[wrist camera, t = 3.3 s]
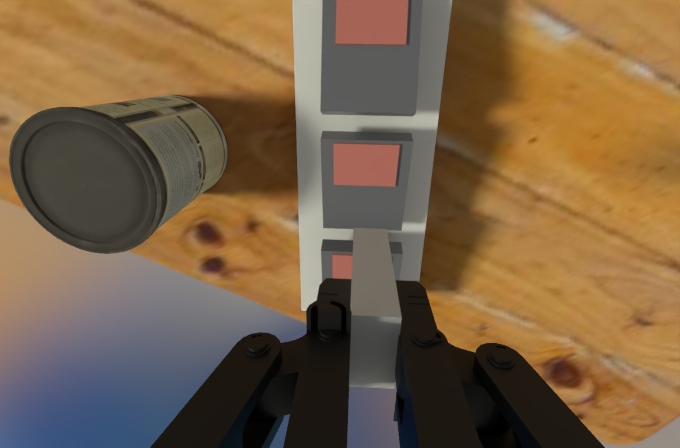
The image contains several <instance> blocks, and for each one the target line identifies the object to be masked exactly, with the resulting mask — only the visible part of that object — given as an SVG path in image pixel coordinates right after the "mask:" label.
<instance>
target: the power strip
mask: <svg viewBox="0 0 680 448" xmlns="http://www.w3.org/2000/svg"><path fill="white" fill-rule="evenodd" d="M292 2H293V36H294V70H295V104H296V138H297V172H298V206H299V240H300V274H301V308H302V311H306V310H307V308H308V306H309V305H310V304H312V303H313V302H314V301H317V295H318V290H319V285H320V284H321V283H322V266H321V247H322V240H323V239H332V240H353V236H354V229H335V228H323V206H322V173H321V140H320V139H321V135H322V131H349V132H390V133H411V134H412V138H413V148H412V155H411V163H410V170H409V178H408V185H407V193H406V200H405V208H404V215H403V223H402V231H391V230H387V234H388V240H389V242H401V244H402V252H403V256H402V263H401V270H400V277H399V280H405V281H418V282H419V280H420V271H421V263H422V254H423V246H424V237H425V229H426V220H427V212H428V203H429V195H430V186H431V178H432V169H433V161H434V152H435V144H436V135H437V127H438V118H439V110H440V101H441V93H442V84H443V76H444V67H445V59H446V50H447V42H448V33H449V25H450V16H451V8H452V0H423V2H422V19H421V36H420V53H419V70H418V87H417V104H416V114H415V115H414V116H413V117H412V116H368V115H324V114H322V113H321V111H320V105H321V54H322V3H323V0H292Z"/></svg>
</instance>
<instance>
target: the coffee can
mask: <svg viewBox="0 0 680 448" xmlns="http://www.w3.org/2000/svg"><path fill="white" fill-rule="evenodd" d="M227 154H228V149H227V143H226V139H225V136H224V133H223V131H222V129H221V127H220V125H219V123H218V122H217V120H216V119H215V118H214V117H213V116H212V115H211V113H210V112H209V111H207V110H206V109H205V108H204V107H203V106H201V105H200V104H198V103H197V102H195V101H193V100H191V99H188V98H186V97H182V96H176V95H163V96H158V97H155V98H147V99H139V100H132V101H125V102H117V103H109V104H100V105H94V106H87V107H57V108H51V109H47V110H43V111H40V112H38V113H36V114H34V115H33V116H31V117H30V118H29V119H27V120H26V121H25V122H24V123H23V124H22V125H21V126H20V128H19V129H18V130H17V132H16V134H15V135H14V137H13V140H12V143H11V146H10V156H9V164H10V172H11V177H12V181H13V184H14V187H15V190H16V192H17V194H18V196H19V198H20V200H21V201H22V203H23V205H24V206H25V207H26V209H27V210H28V212H29V213H30V214H31V215H32V216H33V218H34V219H35V220H36V221H37V222H38V223H39V224H40V225H41V226H42V227H43V228H45V229H46V230H47V231H48V232H50V233H51V234H52V235H54V236H55V237H57V238H58V239H60V240H62V241H63V242H65V243H67V244H70V245H72V246H74V247H77V248H79V249H82V250H85V251H89V252H95V253H105V254H110V253H119V252H124V251H127V250H130V249H132V248H134V247H136V246H138V245H140V244H141V243H143V242H144V241H145V240H146V239H148V238H149V237H150V236H151V235H152V234H153V232H154V231H155V230H156V229H158V228H159V227H160V226H161V225H163V224H164V223H165V222H166V221H168V220H169V219H170V218H171V217H173V216H174V215H175V214H176V213H178V212H179V211H180V210H182V209H183V208H184V207H185V206H187V205H188V204H189V203H190V202H192V201H193V200H194V199H195V198H197V197H198V196H199V195H201V194H202V193H203V192H204V191H206V190H207V189H209V188H211V187H212V186H213V185H214V184H215V183H217V181H218V180H219V179H220V178H221V176H222V174H223V172H224V170H225V167H226V164H227V157H228V155H227Z"/></svg>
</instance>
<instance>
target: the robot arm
mask: <svg viewBox="0 0 680 448" xmlns="http://www.w3.org/2000/svg"><path fill="white" fill-rule="evenodd" d="M306 315H307V334H305V335H304V336H303V337H301V338H299V339H297V340H293V341H289V342H284V343H280V340H279V339H278V338H277V337H276V336H274V335H272V334H269V333H261V332H260V333H254V334H250V335H248V336H246V337H244V338H242V339H241V340H240V341H239V342H237V344H236V345H235V346H234V347H233V348H232V350H231V351H230V352H229V353H228V355H227V356H226V357H225V358H224V359H223V360H222V362H221V363H220V364H219V365H218V367H217V368H216V369H215V370H214V371H213V373H212V374H211V375H210V376H209V377H208V379H207V380H206V381H205V382H204V384H203V385H202V386H201V387H200V388H199V390H198V391H197V392H196V393H195V394H194V396H193V397H192V398H191V399H190V400H189V402H188V403H187V404H186V405H185V406H184V408H183V409H182V410H181V411H180V412H179V414H178V415H177V416H176V417H175V419H174V420H173V421H172V422H171V423H170V424H169V426H168V427H167V428H166V429H165V431H164V432H163V433H162V434H161V435H160V437H159V438H158V439H157V440H156V442H155V443H154V444H153V445H152V446H151V448H269V447H270V445H271V442H272V441H273V439H274V437H275V434H276V433H277V431H278V429H279V427H280V425H281V423H282V421H283V418H284V415H288V414H290V418H289V423H288V427H287V433H286V437H285V442H284V448H347V427H348V398H349V386H357V387H373V388H391V389H394V388H395V380H396V387H397V393H396V403H395V413H394V421H397V422H398V432H399V442H400V448H605V447H604V446H603V445H602V444H601V443H600V442H599V441H598V440H597V439H596V437H595V436H594V435H593V434H592V433H591V432H590V431H589V430H588V429H587V427H586V426H585V425H584V424H583V423H582V422H581V421H580V420H579V419H578V417H577V416H576V415H575V414H574V413H573V412H572V411H571V410H570V409H569V408H568V406H567V405H566V404H565V403H564V402H563V401H562V400H561V399H560V398H559V396H558V395H557V394H556V393H555V392H554V391H553V390H552V389H551V388H550V386H549V385H548V384H547V383H546V382H545V381H544V380H543V379H542V378H541V377H540V375H539V374H538V373H537V372H536V371H535V370H534V369H533V368H532V367H531V365H530V364H529V363H528V362H527V361H526V360H525V359H524V358H523V357H522V356H521V355H520V354H519V353H518V352H517V351H515V350H514V349H512V348H510V347H508V346H505V345H502V344H498V343H486V344H482V345H480V346H479V347H478V348H477V349H476V353H475V352H471V351H467V350H464V349H461V348H458V347H455V346H453V345H451V344H449V343H448V341H447V339H446V337H445V335H444V334H443V333H442V332H440V331H439V330H438V329H437V326H436V323H435V320H434V316H433V313H432V310H431V307H430V303H429V300H428V297H427V293H426V290H425V288H424V287H423V286H422V285H421V284H420V283H419V282H418V281H405V280H395V275H394V269H393V263H392V257H391V251H390V245H389V240H388V234H387V229H375V228H354V236H353V258H352V279H338V278H326V279H325V280H324V281H323V282H322V283H321V284H320V285H319V290H318V295H317V301H314V302H313V303H312V304H310V305H309V306H308V308H307V310H306Z"/></svg>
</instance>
